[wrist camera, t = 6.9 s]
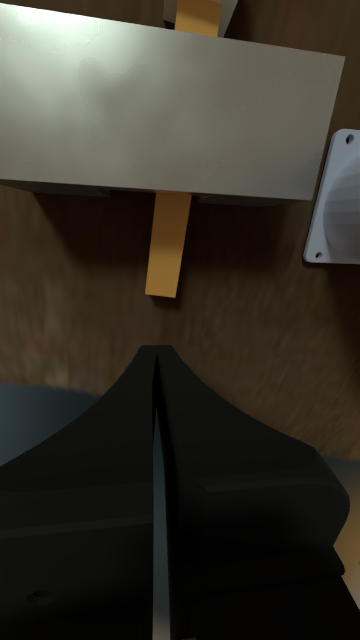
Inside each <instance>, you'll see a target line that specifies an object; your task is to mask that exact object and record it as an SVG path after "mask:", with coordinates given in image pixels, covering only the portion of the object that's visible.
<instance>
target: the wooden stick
mask: <svg viewBox="0 0 360 640" xmlns="http://www.w3.org/2000/svg"><path fill="white" fill-rule="evenodd" d="M237 2H238V0H165V2H164V16H163V20H165V21H168V22H172V23H175V26H174V30H176V31H183V32H189V33H195V34H202V35H208V36H215V37H221V38H223V37H224V34H225V32H226V29H227V27H228V24H229V22H230V19H231V17H232V14H233V12H234V9H235V7H236V4H237ZM191 197H192V195H181V194H166V193H156V198H155V207H154V216H153V225H152V234H151V243H150V252H149V261H148V270H147V279H146V290H145V294H149V295H157V296H165V297H174V298H175V296H176V290H177V284H178V278H179V271H180V265H181V259H182V253H183V246H184V240H185V234H186V228H187V221H188V215H189V209H190V203H191Z"/></svg>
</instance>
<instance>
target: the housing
mask: <svg viewBox="0 0 360 640" xmlns="http://www.w3.org/2000/svg"><path fill="white" fill-rule="evenodd" d="M344 60H345V57H344V56H338V55H331V54H325V53H318V52H312V51H305V50H299V49H292V48H286V47H279V46H273V45H267V44H260V43H254V42H247V41H241V40H234V39H228V38H221V37H215V36H208V35H202V34H195V33H189V32H183V31H176V30H170V29H163V28H157V27H150V26H144V25H137V24H131V23H124V22H118V21H112V20H105V19H99V18H92V17H86V16H79V15H73V14H66V13H60V12H53V11H47V10H40V9H34V8H28V7H21V6H15V5H8V4H2V3H0V185H4V186H8V187H12V188H16V189H20V190H24V191H28V192H32V193H48V194H64V195H80V196H96V197H111V196H110V190H122V191H137V192H152V193H166V194H181V195H196V200H195V203H206V204H222V205H238V206H254V207H266V206H273V205H280V204H288V203H295V202H303V201H310V200H312V197H313V193H314V189H315V184H316V180H317V176H318V171H319V167H320V163H321V159H322V154H323V150H324V146H325V141H326V137H327V133H328V129H329V124H330V120H331V116H332V111H333V107H334V103H335V99H336V94H337V90H338V86H339V81H340V77H341V73H342V69H343V64H344Z"/></svg>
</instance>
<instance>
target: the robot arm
mask: <svg viewBox="0 0 360 640" xmlns="http://www.w3.org/2000/svg"><path fill="white" fill-rule="evenodd" d="M347 137H348V138H349V142H348V144H347V143H346V138H347ZM317 253H319V256H318V257H317V258H316V254H317ZM303 258H304V260H305V261H307V262H312V263H343V264H360V130H351V129H341V130H339V131H337V132H336V133H334V135H333V136H332V139H331V142H330V146H329V150H328V155H327V159H326V163H325V167H324V171H323V175H322V180H321V184H320V188H319V192H318V196H317V200H316V205H315V209H314V213H313V217H312V221H311V225H310V229H309V234H308V238H307V242H306V246H305V250H304V254H303ZM156 407H157V415H158V422H159V430H160V437H161V445H162V453H163V462H164V478H165V501H166V525H167V551H168V552H167V553H168V578H169V580H168V581H169V609H170V639H171V640H360V610H359V609H358V607H357V605H356V603H355V601H354V599H353V597H352V596H351V594H350V592H349V590H348V588H347V586H346V584H345V583H344V581H343V579H342V577H341V575H343V574H344V573H345V569H344V565H343V563H342V562H341V560H340V558H339V556H338V554H337V553H336V551H335V549H334V547H333V544H334V543H335V541H336V539H337V537H338V535H339V533H340V531H341V529H342V527H343V526H344V524H345V522H346V519H347V517H348V514H349V510H350V500H349V495H348V493H347V492H346V490H345V489H344V487H343V486H342V485H341V483H340V482H339V480H338V479H337V477H336V476H335V475H334V473H333V472H332V470H331V469H330V467H329V466H328V465H327V463H326V462H325V461H324V460H323V458H322V457H321V456H320V454H319V453H318V452H317V451H316V450H315V448H314V447H312V446H310V445H308V444H305V443H303V442H301V441H299V440H296V439H294V438H292V437H290V436H288V435H285V434H283V433H281V432H279V431H277V430H275V429H273V428H271V427H269V426H267V425H265V424H263V423H261V422H259V421H258V420H256V419H254V418H252V417H250V416H249V415H247V414H245V413H244V412H242V411H240V410H239V409H237V408H236V407H234V406H233V405H231V404H230V403H228V402H227V401H225V400H224V399H223V398H221V397H220V396H219V395H217V394H216V393H215V392H214V391H212V390H211V389H210V388H209V387H207V386H206V385H205V384H204V383H203V382H202V381H201V380H200V379H199V378H198V377H197V376H196V375H195V374H194V373H193V372H192V371H191V370H190V369H189V367H188V366H187V365H186V364H185V363H184V362H183V360H182V359H181V358H180V357H179V355H178V354H177V352H176V351H175V350H174V348H173V347H172V346H171V345H142V346H141V347H140V348H139V350H138V352H137V354H136V355H135V357H134V358H133V360H132V362H131V363H130V364H129V366H128V367H127V369H126V370H125V371H124V373H123V374H122V375H121V376H120V377H119V379H118V380H117V381H116V382H115V383H114V385H113V386H112V387H111V388H110V389H109V390H108V391H107V392H106V393H105V394H104V395H103V396H102V397H101V398H100V399H99V400H98V401H97V402H96V403H95V404H93V405H92V406H91V407H90V408H89V409H88V410H87V411H85V412H84V413H83V414H81V415H80V416H79V417H78V418H77V419H75V420H74V421H73V422H71V423H70V424H68V425H67V426H65V427H64V428H63V429H61V430H60V431H58V432H57V433H55V434H54V435H52V436H51V437H49V438H48V439H46V440H45V441H43V442H41V443H40V444H38V445H37V446H35V447H33V448H32V449H30V450H28V451H26V452H25V453H23V454H21V455H19V456H18V457H16V458H14V459H13V460H11V461H9V462H7V463H6V464H4V465H2V466H0V640H152V633H153V630H152V629H153V624H152V623H153V525H154V524H153V521H154V518H153V517H154V514H153V441H154V429H155V417H156Z"/></svg>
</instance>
